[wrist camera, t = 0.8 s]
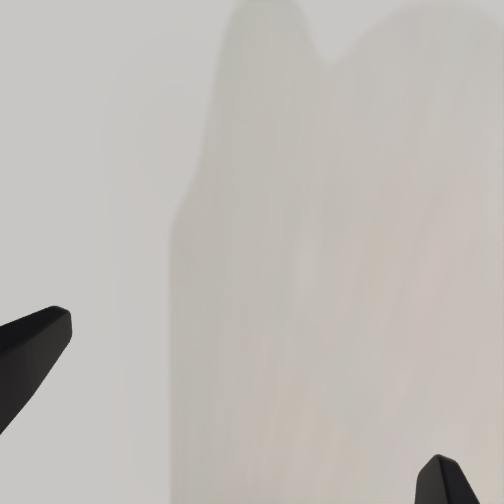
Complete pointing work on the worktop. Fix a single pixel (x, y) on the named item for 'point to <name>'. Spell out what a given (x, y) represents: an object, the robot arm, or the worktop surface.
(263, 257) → the worktop surface
